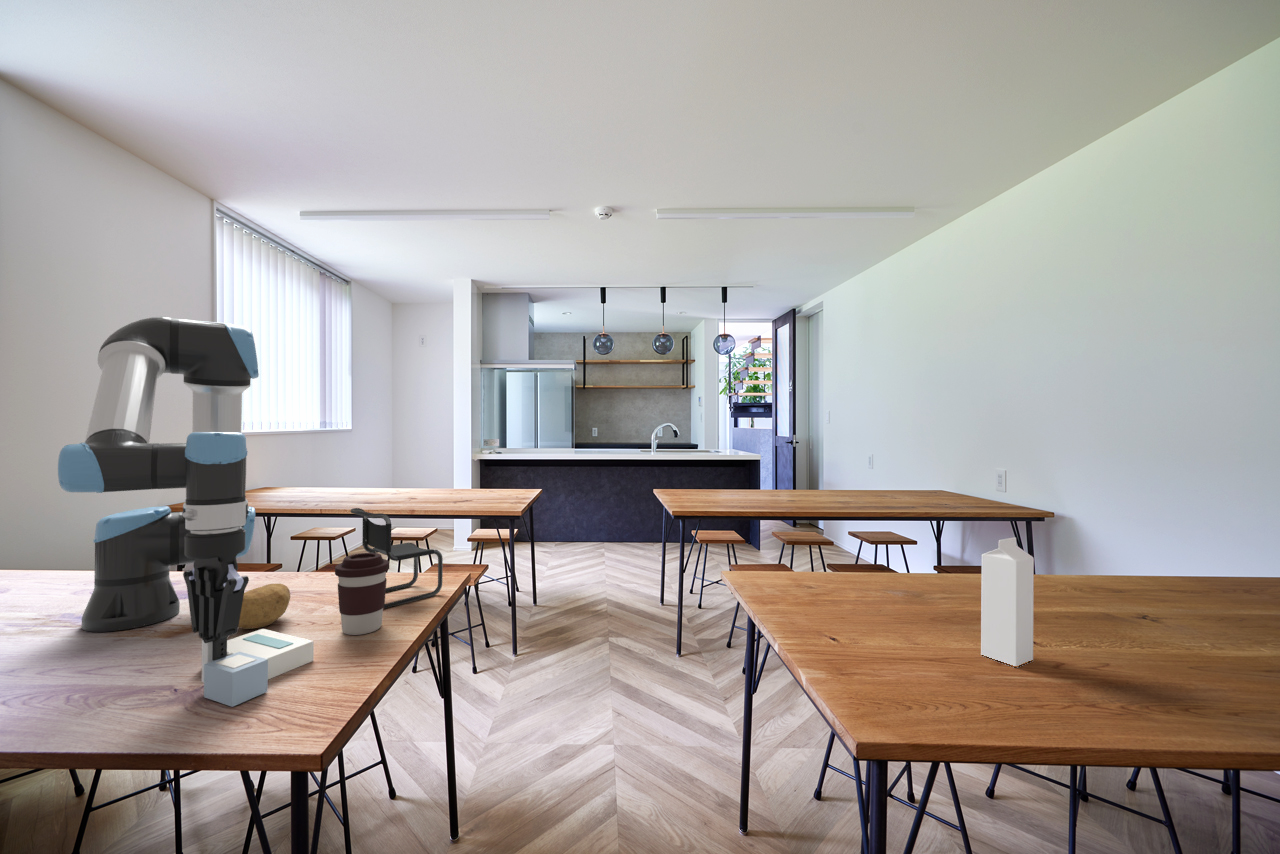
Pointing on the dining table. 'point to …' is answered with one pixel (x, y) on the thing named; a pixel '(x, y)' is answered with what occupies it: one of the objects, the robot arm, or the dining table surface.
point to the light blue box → (235, 678)
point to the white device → (274, 649)
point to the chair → (395, 552)
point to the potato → (263, 605)
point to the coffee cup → (361, 592)
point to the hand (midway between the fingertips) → (214, 679)
